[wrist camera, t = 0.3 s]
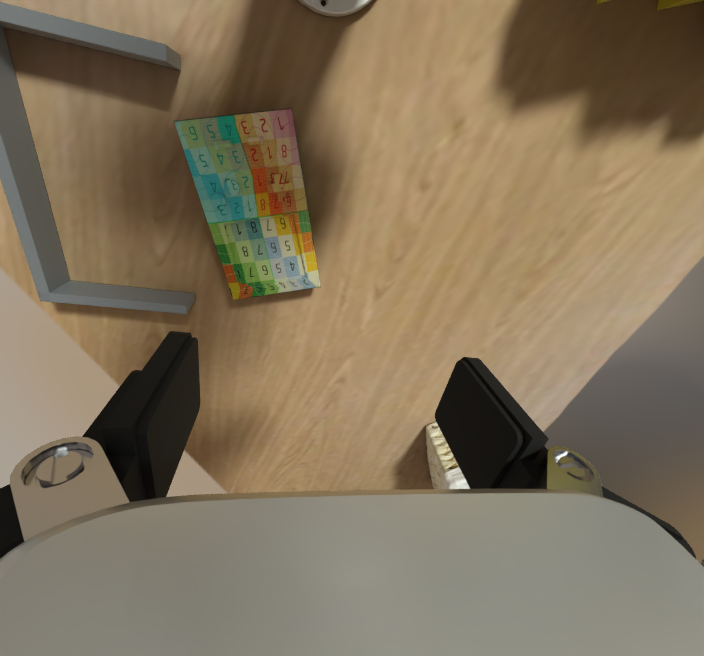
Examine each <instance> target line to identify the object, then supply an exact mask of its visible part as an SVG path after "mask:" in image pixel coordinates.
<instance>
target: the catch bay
mask: <svg viewBox="0 0 704 656" xmlns="http://www.w3.org/2000/svg"><path fill="white" fill-rule="evenodd" d="M3 27H6V28H10V29H14V30H18V31H22V32H26V33H30V34H35V35H39V36H43V37H47V38H51V39H55V40H59V41H63V42H67V43H72V44H76V45H80V46H84V47H88V48H92V49H96V50H100V51H104V52H109V53H113V54H117V55H121V56H125V57H129V58H133V59H137V60H141V61H146V62H150V63H154V64H158V65H162V66H166V67H170V68H174V69H178V70H181V63H180V55H179V54H178V53H176V52H175V51H174V50H172V49H171V48H170V47H168V46H167V45H165V44H162V43H158V42H154V41H150V40H146V39H142V38H138V37H134V36H130V35H126V34H123V33H119V32H115V31H111V30H107V29H103V28H99V27H95V26H91V25H88V24H84V23H80V22H76V21H72V20H68V19H64V18H60V17H56V16H53V15H49V14H45V13H41V12H37V11H33V10H29V9H25V8H21V7H18V6H14V5H10V4H6V3H2V2H0V179H1V182H2V185H3V188H4V191H5V194H6V197H7V200H8V203H9V206H10V209H11V212H12V215H13V219H14V222H15V225H16V228H17V231H18V234H19V237H20V240H21V243H22V246H23V249H24V252H25V255H26V258H27V261H28V264H29V268H30V271H31V274H32V277H33V280H34V283H35V286H36V289H37V292H38V295H39V298H40V301H46V302H57V303H68V304H79V305H91V306H102V307H113V308H124V309H135V310H146V311H158V312H169V313H180V314H187V313H188V312H189V310H190V308H191V307H192V305H193V304H194V302H195V293H187V292H178V291H168V290H158V289H149V288H139V287H129V286H120V285H110V284H100V283H91V282H81V281H71V280H70V277H69V273H68V270H67V266H66V262H65V258H64V255H63V251H62V247H61V243H60V240H59V236H58V232H57V228H56V225H55V221H54V217H53V213H52V210H51V206H50V202H49V198H48V195H47V191H46V187H45V183H44V180H43V176H42V172H41V168H40V165H39V161H38V157H37V153H36V150H35V146H34V142H33V138H32V135H31V131H30V127H29V123H28V120H27V116H26V112H25V108H24V104H23V101H22V97H21V93H20V89H19V86H18V82H17V78H16V74H15V71H14V67H13V63H12V59H11V56H10V52H9V48H8V44H7V41H6V37H5V33H4V29H3Z"/></svg>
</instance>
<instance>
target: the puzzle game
mask: <svg viewBox="0 0 704 656" xmlns="http://www.w3.org/2000/svg"><path fill="white" fill-rule="evenodd" d="M174 123H175V126H176V129H177V132H178V135H179V138H180V141H181V144H182V147H183V150H184V153H185V156H186V159H187V162H188V165H189V168H190V171H191V174H192V177H193V180H194V183H195V186H196V189H197V192H198V195H199V198H200V201H201V204H202V207H203V210H204V213H205V216H206V219H207V222H208V225H209V228H210V231H211V234H212V237H213V240H214V243H215V246H216V249H217V252H218V255H219V258H220V261H221V264H222V267H223V270H224V273H225V276H226V279H227V282H228V286H229V289H230V292H231V295H232V298H233V300H238V299H244V298H251V297H257V296H264V295H271V294H277V293H284V292H291V291H297V290H304V289H310V288H317V287H321V286H320V279H319V273H318V267H317V261H316V255H315V249H314V243H313V237H312V231H311V225H310V219H309V213H308V207H307V201H306V194H305V188H304V182H303V176H302V170H301V164H300V158H299V152H298V146H297V140H296V134H295V128H294V122H293V116H292V110H291V108H288V109H279V110H270V111H261V112H251V113H242V114H233V115H224V116H215V117H206V118H196V119H187V120H178V121H174Z"/></svg>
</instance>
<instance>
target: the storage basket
mask: <svg viewBox="0 0 704 656" xmlns="http://www.w3.org/2000/svg"><path fill="white" fill-rule="evenodd" d="M426 439H427V441H426V445H427V455H428V462H429V469H430V475H431V478H432V479H431V481H432V483H433V484H432V486H433V487H434V489H470V487H469V485H468V483H467V481H466V479H465V477H464V475H463V474H462V472H461V470H460V468H459V466H458V464H457V462H456V460H455V458H454V456H453V454H452V452H451V450H450V448H449V446H448V444H447V442H446V440H445V438H444V436H443V434H442V432H441V430H440V428H439V426H438V424H437V422H434V423H432V424H429V425H427V426H426Z"/></svg>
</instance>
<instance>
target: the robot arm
mask: <svg viewBox="0 0 704 656" xmlns="http://www.w3.org/2000/svg"><path fill="white" fill-rule="evenodd" d="M298 1H299V2H300V3H301V4H303V5H304V6H306V7H308V8H309V9H311V10H312V11H314V12H317V13H319V14H322V15H325V16H333V17H340V16H347V15H350V14H353V13H355V12H357V11H360V10H361V9H362V8H364V7H365V6H366V5H368V4H369V3H370V2H371V1H372V0H298ZM321 1H325V3H326V6H322V5H321ZM199 408H200V383H199V359H198V340H197V338H192V336H191V333H186V332H174V331H170V332H169V333H168V335H167V336H166V338H165V339H164V340H163V342H162V343H161V345H160V346H159V347H158V349H157V350H156V352H155V353H154V354H153V356H152V357H151V359H150V360H149V361H148V363H147V364H146V366H145V367H144V368H143V370H142V371H140V370H135V371H132V372H131V373H130V374H129V376H128V377H127V378H126V380H125V381H124V382H123V384H122V385H121V386H120V387H119V389H118V390H117V391H116V393H115V394H114V395H113V397H112V398H111V399H110V401H109V402H108V403H107V405H106V406H105V407H104V409H103V410H102V411H101V413H100V414H99V415H98V417H97V418H96V419H95V421H94V422H93V423H92V425H91V426H90V427H89V429H88V430H87V431H86V432H85V434H84V435H83V437H70V438H63V439H60V440H56V441H53V442H50V443H48V444H46V445H44V446H41V447H40V448H37V449H36V450H34V451H33V452H31V453H30V454H28V455H27V456H25V457H24V458H23V459H22V460H21V461H20V462H19V463H18V464H17V465H16V467H15V468H14V470H13V472H12V474H11V476H10V484H9V485H7V486H5V487H3V488H0V656H704V560H703V559H701V560H700V561H697V560H696V556H695V554H694V552H693V550H692V548H691V547H690V545H689V544H688V543H687V541H686V540H685V539H684V538H683V537H682V535H681V534H680V533H679V532H678V531H677V530H676V529H675V528H674V527H672V526H671V525H670V524H668V523H666V522H665V521H663V520H661V519H659V518H657V517H655V516H654V515H652V514H650V513H648V512H646V511H645V510H643V509H641V508H639V507H638V506H636V505H634V504H632V503H630V502H629V501H627V500H625V499H623V498H622V497H620V496H618V495H616V494H615V493H613V492H611V491H609V490H607V489H606V488H604V487H602V486H601V481H600V477H599V474H598V472H597V471H596V469H595V468H594V467H593V466H592V465H591V464H590V463H589V462H588V461H587V460H586V459H585V458H583V457H582V456H581V455H579V454H578V453H576V452H574V451H572V450H570V449H567V448H565V447H561V446H552V447H551V448H549V449H548V450H547V449H546V448H545V446H544V445H545V444H546V442H547V440H548V438H547V437H546V435H544V433H543V432H542V431H541V430H540V428H539V427H538V426H537V425H536V424H535V423H534V421H533V420H532V419H531V418H530V417H529V416H528V415H527V413H526V412H525V411H524V410H523V409H522V408H521V406H520V405H519V404H518V403H517V402H516V401H515V399H514V398H513V397H512V396H511V395H510V394H509V393H508V391H507V390H506V389H505V388H504V387H503V386H502V384H501V383H500V382H499V381H498V380H497V379H496V377H495V376H494V375H493V374H492V373H491V372H490V370H489V369H488V368H487V367H486V366H485V365H484V364H483V362H482V361H481V360H480V359H478V358H469V357H463V358H462V359H461V360H459V361H458V362H457V363H456V365H455V367H454V370H453V372H452V374H451V377H450V379H449V381H448V384H447V386H446V388H445V391H444V393H443V395H442V398H441V400H440V402H439V405H438V407H437V410H436V412H435V419H436V422H437V424H438V426H439V428H440V430H441V432H442V434H443V436H444V438H445V440H446V442H447V444H448V446H449V448H450V450H451V452H452V454H453V456H454V458H455V460H456V462H457V464H458V466H459V468H460V470H461V472H462V474H463V475H464V477H465V479H466V481H467V483H468V485H469V487H470V489H414V490H352V491H304V492H258V493H231V494H205V495H187V496H176V497H166V495H167V493H168V490H169V487H170V485H171V482H172V480H173V477H174V474H175V472H176V469H177V466H178V464H179V461H180V459H181V456H182V453H183V451H184V448H185V446H186V443H187V441H188V438H189V435H190V433H191V430H192V428H193V425H194V422H195V420H196V417H197V414H198V412H199Z"/></svg>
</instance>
